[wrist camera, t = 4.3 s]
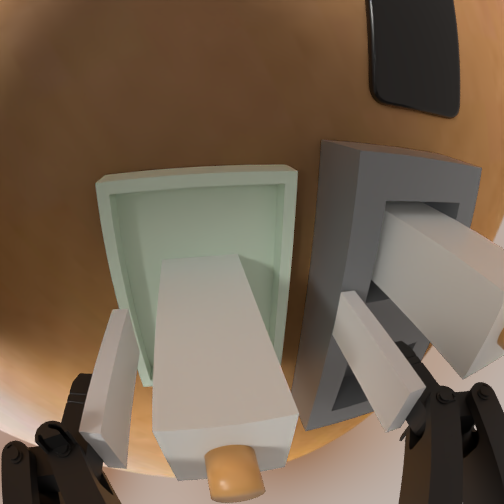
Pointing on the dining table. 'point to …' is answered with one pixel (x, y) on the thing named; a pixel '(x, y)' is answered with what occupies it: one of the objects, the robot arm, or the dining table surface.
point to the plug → (217, 380)
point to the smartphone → (414, 55)
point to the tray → (198, 236)
